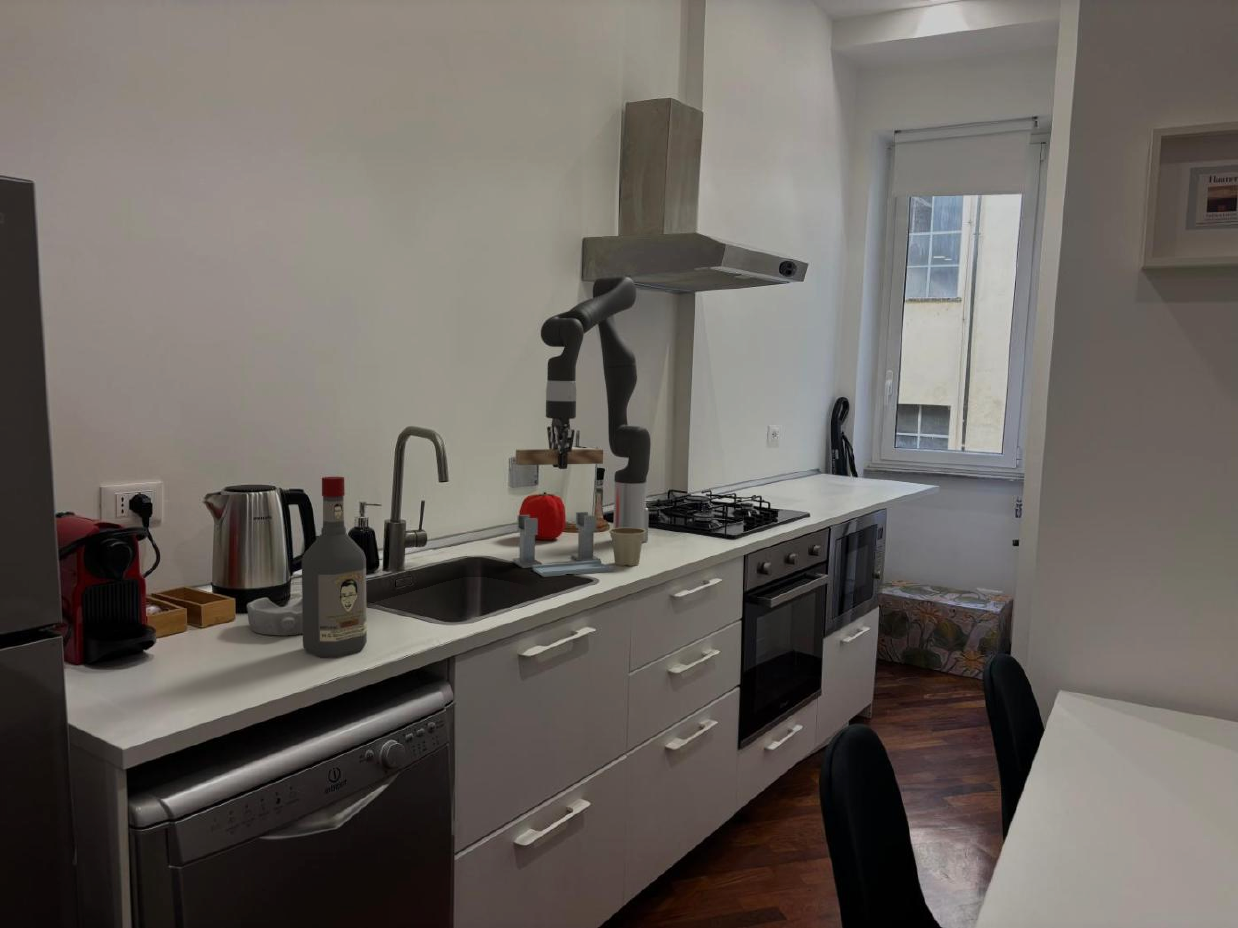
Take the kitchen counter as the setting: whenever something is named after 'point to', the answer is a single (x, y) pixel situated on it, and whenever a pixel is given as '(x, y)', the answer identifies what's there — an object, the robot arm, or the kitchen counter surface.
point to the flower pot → (627, 545)
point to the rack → (529, 530)
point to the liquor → (334, 583)
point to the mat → (571, 568)
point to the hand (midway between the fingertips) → (559, 467)
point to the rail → (552, 456)
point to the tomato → (545, 514)
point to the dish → (275, 618)
